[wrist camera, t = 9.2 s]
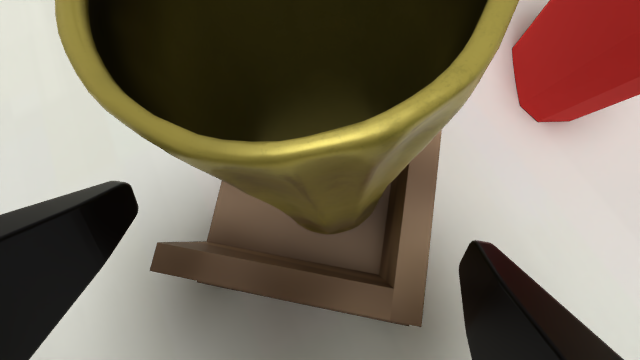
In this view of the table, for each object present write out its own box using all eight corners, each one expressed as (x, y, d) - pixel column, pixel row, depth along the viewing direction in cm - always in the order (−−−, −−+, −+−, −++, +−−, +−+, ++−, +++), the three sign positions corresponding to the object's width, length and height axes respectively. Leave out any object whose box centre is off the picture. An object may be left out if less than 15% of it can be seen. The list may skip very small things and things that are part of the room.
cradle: (405, 321, 16) (437, 362, 11) (201, 279, 17) (142, 297, 12) (431, 93, 19) (466, 37, 13) (252, 71, 20) (221, 11, 15)
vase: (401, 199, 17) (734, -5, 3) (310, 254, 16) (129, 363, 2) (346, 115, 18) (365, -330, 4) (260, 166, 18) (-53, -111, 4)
